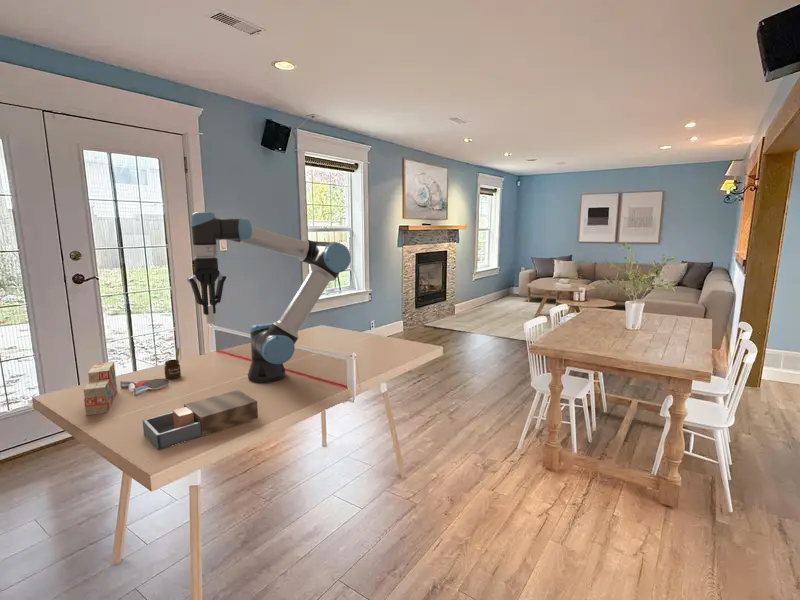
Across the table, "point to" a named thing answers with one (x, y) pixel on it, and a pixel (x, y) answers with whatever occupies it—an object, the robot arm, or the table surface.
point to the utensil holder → (172, 367)
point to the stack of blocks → (100, 388)
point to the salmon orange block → (182, 417)
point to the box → (168, 431)
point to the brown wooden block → (223, 411)
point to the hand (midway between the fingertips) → (210, 323)
